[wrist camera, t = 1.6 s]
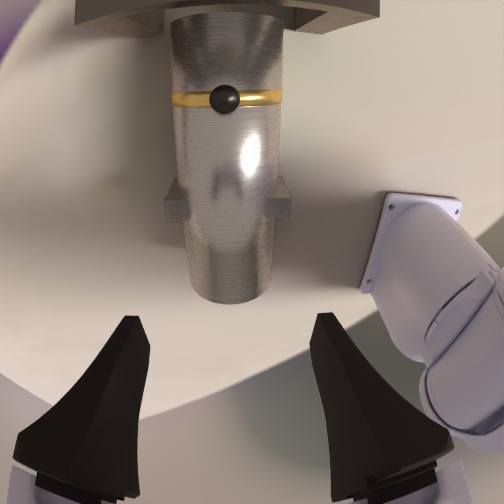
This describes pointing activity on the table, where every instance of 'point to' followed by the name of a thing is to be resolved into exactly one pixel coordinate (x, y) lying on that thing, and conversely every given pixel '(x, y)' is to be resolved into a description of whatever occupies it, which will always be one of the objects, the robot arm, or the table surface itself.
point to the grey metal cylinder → (227, 149)
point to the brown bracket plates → (153, 4)
